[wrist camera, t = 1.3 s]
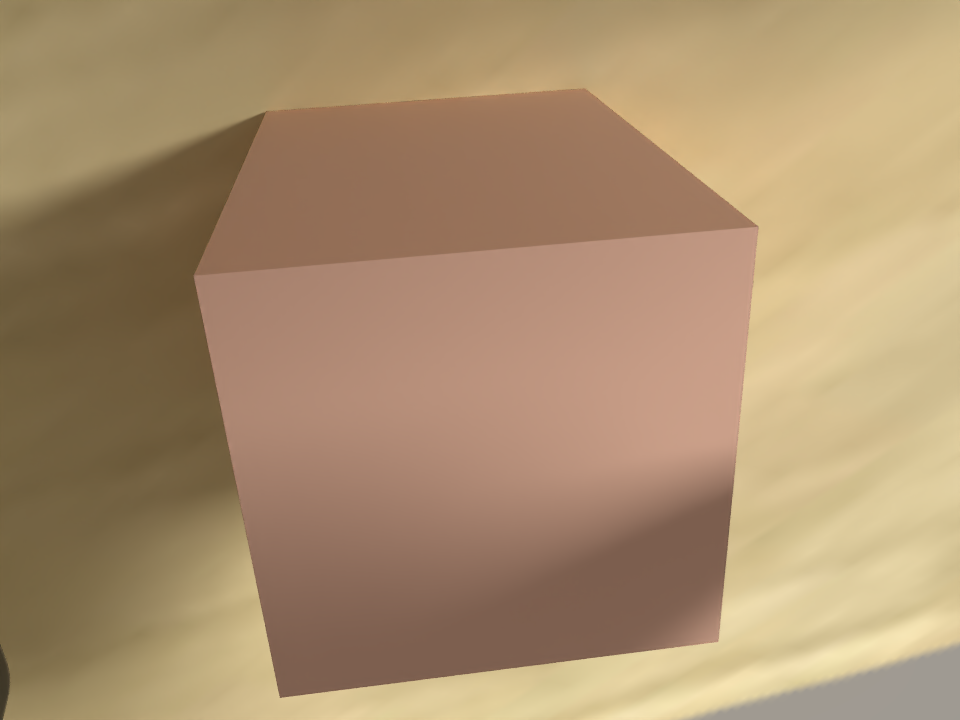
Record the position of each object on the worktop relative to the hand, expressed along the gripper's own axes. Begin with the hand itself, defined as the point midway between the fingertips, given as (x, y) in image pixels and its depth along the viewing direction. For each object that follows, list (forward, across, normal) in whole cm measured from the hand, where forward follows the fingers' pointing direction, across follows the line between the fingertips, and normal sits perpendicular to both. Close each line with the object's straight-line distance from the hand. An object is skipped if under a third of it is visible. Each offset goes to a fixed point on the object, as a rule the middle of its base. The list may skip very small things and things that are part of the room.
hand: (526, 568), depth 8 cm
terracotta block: (+8, 0, 0) cm, 8 cm away
